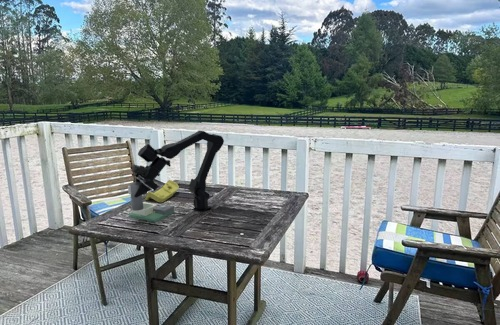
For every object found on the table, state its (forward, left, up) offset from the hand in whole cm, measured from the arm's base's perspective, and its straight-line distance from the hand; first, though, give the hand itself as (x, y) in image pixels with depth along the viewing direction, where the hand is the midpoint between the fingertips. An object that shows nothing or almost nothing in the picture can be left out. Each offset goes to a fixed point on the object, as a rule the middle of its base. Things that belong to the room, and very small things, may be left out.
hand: (133, 195), depth 167 cm
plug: (-1, -1, -7) cm, 7 cm away
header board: (+1, -12, -13) cm, 18 cm away
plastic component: (+14, -35, -14) cm, 40 cm away
